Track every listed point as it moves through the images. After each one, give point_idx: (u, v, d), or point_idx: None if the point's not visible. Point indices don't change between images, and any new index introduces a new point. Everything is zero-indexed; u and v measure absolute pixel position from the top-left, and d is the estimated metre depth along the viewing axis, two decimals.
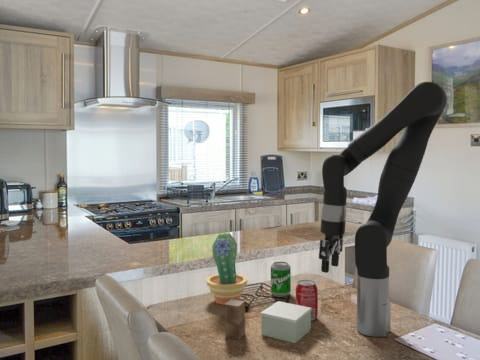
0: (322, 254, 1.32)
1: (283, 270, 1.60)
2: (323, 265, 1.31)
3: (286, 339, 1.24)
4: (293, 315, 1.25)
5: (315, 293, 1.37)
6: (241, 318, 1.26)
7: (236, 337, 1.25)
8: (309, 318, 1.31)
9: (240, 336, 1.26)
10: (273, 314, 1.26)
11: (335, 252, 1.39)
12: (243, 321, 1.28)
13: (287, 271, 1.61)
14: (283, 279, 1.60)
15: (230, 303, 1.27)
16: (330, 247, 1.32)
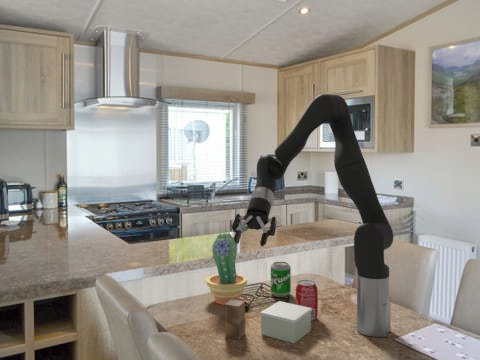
0: (240, 230, 1.42)
1: (283, 270, 1.60)
2: None
3: (285, 339, 1.24)
4: (293, 315, 1.25)
5: (315, 293, 1.37)
6: (241, 318, 1.26)
7: (236, 337, 1.25)
8: (309, 318, 1.30)
9: (240, 336, 1.26)
10: (273, 314, 1.26)
11: None
12: (243, 321, 1.28)
13: (287, 271, 1.61)
14: (283, 279, 1.60)
15: (230, 303, 1.26)
16: None
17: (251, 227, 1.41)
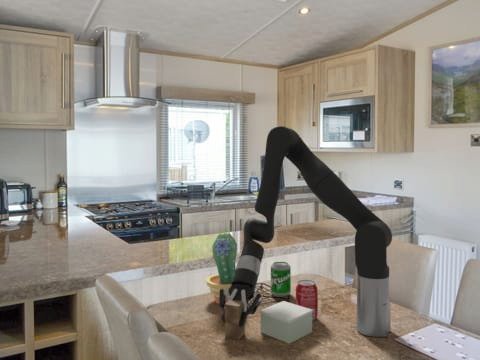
0: None
1: (283, 270, 1.60)
2: None
3: (281, 339, 1.24)
4: (290, 315, 1.25)
5: (315, 293, 1.37)
6: None
7: (236, 337, 1.25)
8: (310, 320, 1.29)
9: (240, 336, 1.26)
10: (271, 313, 1.27)
11: None
12: None
13: (287, 271, 1.61)
14: (283, 279, 1.60)
15: (230, 303, 1.26)
16: None
17: None
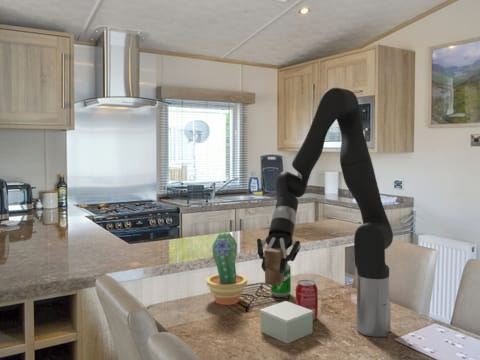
0: None
1: None
2: None
3: (279, 339, 1.24)
4: (289, 315, 1.25)
5: (315, 293, 1.37)
6: None
7: (276, 283, 1.25)
8: (310, 321, 1.28)
9: (280, 282, 1.26)
10: (270, 312, 1.28)
11: None
12: None
13: (287, 271, 1.61)
14: None
15: (270, 250, 1.27)
16: None
17: None
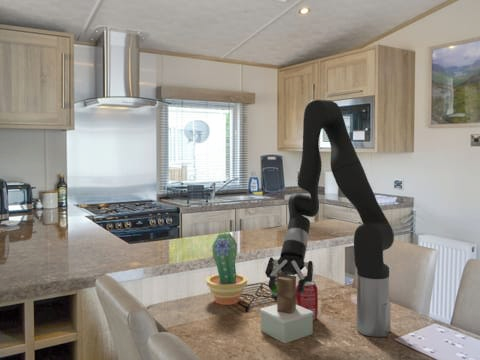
0: (274, 275, 1.34)
1: None
2: None
3: (277, 338, 1.25)
4: (287, 315, 1.25)
5: (315, 293, 1.37)
6: (293, 292, 1.28)
7: (288, 311, 1.27)
8: (310, 322, 1.28)
9: (292, 310, 1.27)
10: (269, 312, 1.28)
11: None
12: (294, 296, 1.29)
13: None
14: None
15: (282, 277, 1.28)
16: None
17: (286, 272, 1.32)
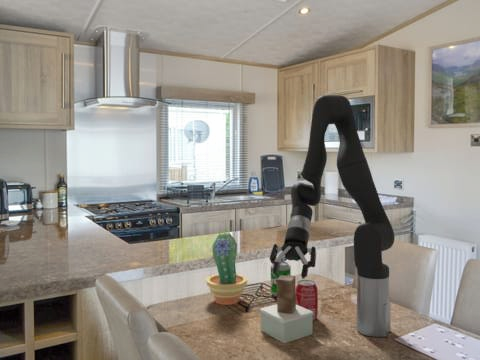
0: (278, 261, 1.37)
1: (283, 270, 1.60)
2: None
3: (277, 338, 1.25)
4: (287, 315, 1.25)
5: (315, 293, 1.37)
6: (293, 293, 1.27)
7: (289, 311, 1.27)
8: (310, 322, 1.28)
9: (292, 310, 1.27)
10: (269, 312, 1.28)
11: None
12: (294, 296, 1.29)
13: (287, 271, 1.61)
14: None
15: (282, 278, 1.28)
16: None
17: (290, 258, 1.36)
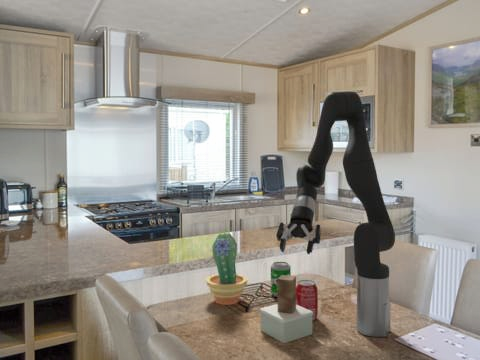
0: (284, 238, 1.44)
1: (283, 270, 1.60)
2: None
3: (277, 338, 1.25)
4: (287, 315, 1.25)
5: (315, 293, 1.37)
6: (293, 293, 1.28)
7: (289, 311, 1.27)
8: (310, 322, 1.28)
9: (293, 310, 1.27)
10: (269, 312, 1.28)
11: None
12: (295, 296, 1.29)
13: (287, 271, 1.61)
14: None
15: (282, 278, 1.28)
16: None
17: (296, 235, 1.42)
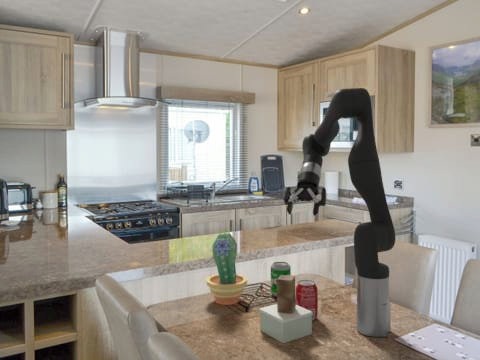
0: (291, 202, 1.50)
1: (283, 270, 1.60)
2: None
3: (276, 338, 1.25)
4: (286, 315, 1.25)
5: (315, 293, 1.37)
6: (293, 292, 1.28)
7: (289, 311, 1.27)
8: (309, 322, 1.28)
9: (292, 310, 1.27)
10: (268, 312, 1.28)
11: None
12: (294, 295, 1.29)
13: (287, 271, 1.61)
14: None
15: (282, 278, 1.28)
16: None
17: (302, 199, 1.48)
